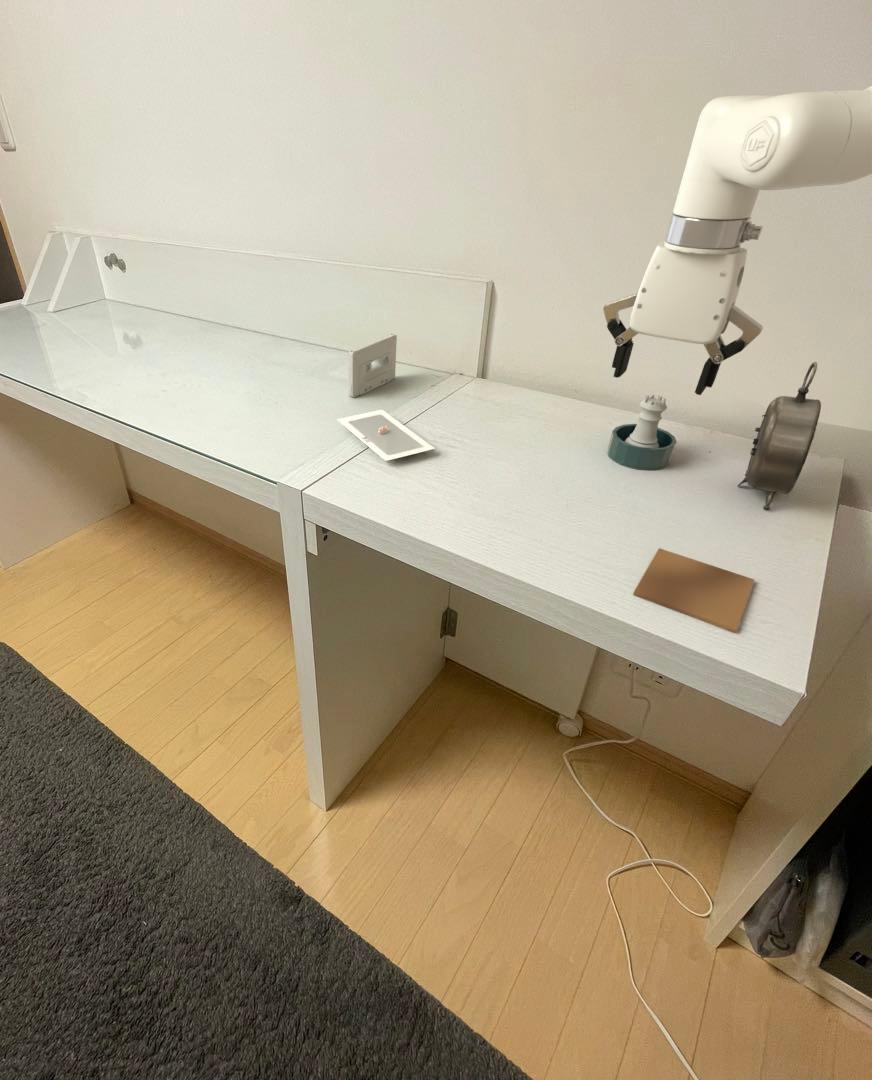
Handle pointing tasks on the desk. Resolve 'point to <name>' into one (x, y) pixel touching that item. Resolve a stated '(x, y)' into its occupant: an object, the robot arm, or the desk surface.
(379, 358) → the cassette
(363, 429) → the touchpad
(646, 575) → the coaster
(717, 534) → the desk surface
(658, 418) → the rook chess piece
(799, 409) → the alarm clock
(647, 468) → the teal round bowl
